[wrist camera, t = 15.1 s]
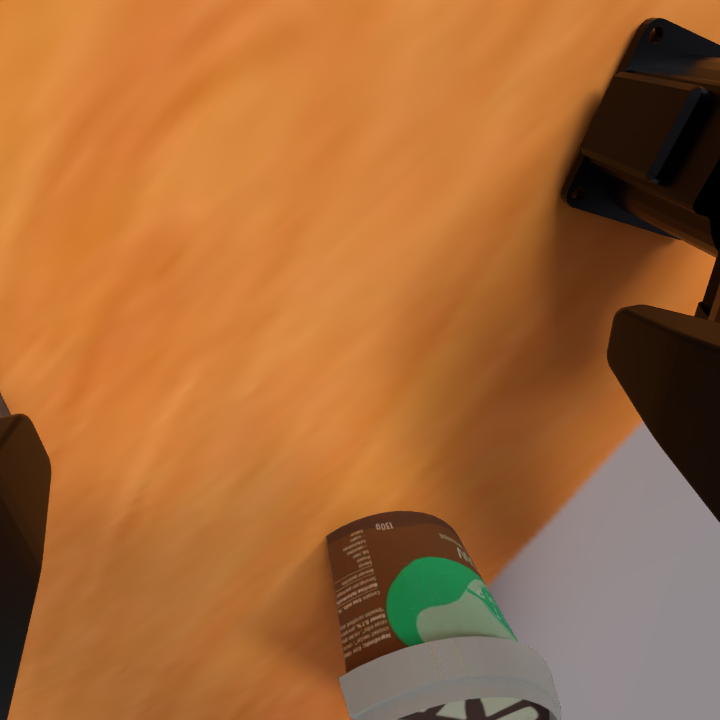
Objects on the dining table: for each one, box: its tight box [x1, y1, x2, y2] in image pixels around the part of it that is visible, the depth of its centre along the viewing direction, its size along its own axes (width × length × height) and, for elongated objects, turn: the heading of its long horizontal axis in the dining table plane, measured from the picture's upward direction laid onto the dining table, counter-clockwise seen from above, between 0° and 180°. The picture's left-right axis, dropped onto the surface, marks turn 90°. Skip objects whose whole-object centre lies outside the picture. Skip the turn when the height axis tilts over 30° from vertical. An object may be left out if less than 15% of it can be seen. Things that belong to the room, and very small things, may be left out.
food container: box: [326, 511, 561, 720], centre depth 28 cm, size 12×6×10 cm, turn 36°
